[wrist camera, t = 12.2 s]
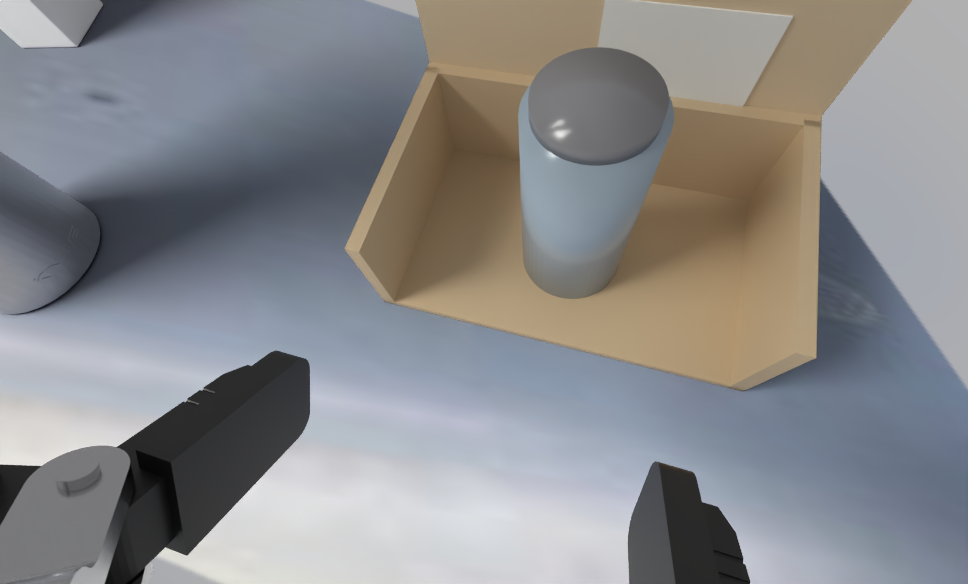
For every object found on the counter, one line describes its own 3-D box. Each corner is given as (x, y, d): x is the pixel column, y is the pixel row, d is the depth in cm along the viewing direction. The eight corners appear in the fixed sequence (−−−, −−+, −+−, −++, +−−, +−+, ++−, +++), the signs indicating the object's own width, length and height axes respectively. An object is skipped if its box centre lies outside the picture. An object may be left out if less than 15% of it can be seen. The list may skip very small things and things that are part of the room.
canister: (511, 286, 28) (499, 144, 17) (535, 207, 31) (539, 32, 19) (608, 309, 27) (667, 173, 16) (626, 225, 29) (690, 50, 18)
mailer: (384, 301, 29) (273, 155, 16) (450, 136, 34) (404, -76, 21) (743, 391, 25) (965, 289, 12) (759, 188, 30) (930, -35, 17)
